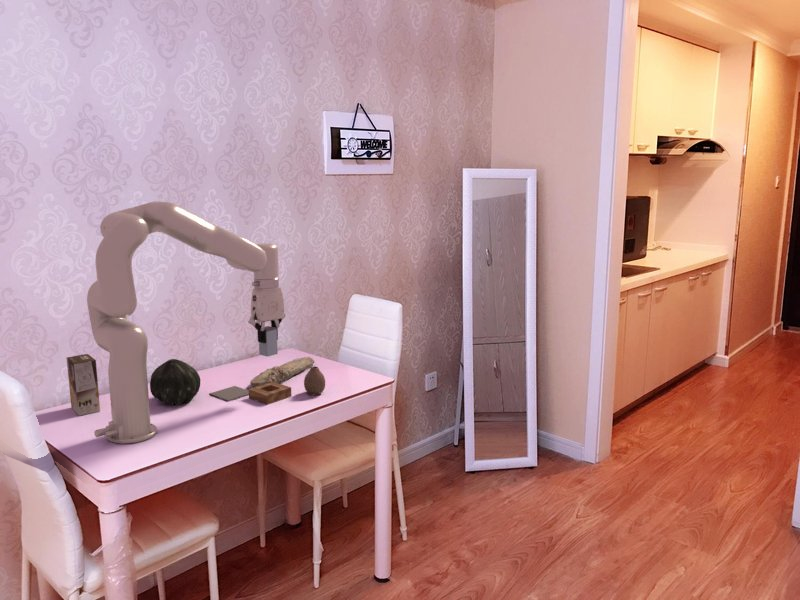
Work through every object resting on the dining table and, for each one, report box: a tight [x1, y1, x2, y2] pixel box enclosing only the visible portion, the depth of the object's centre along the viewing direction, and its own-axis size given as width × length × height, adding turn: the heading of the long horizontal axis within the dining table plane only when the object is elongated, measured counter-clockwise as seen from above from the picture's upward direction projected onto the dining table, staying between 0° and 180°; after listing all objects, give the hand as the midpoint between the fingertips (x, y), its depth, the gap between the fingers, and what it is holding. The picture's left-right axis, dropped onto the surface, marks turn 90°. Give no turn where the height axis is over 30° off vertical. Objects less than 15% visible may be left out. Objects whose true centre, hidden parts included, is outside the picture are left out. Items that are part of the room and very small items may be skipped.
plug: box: [258, 325, 279, 357], centre depth 204 cm, size 4×4×8 cm
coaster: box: [208, 385, 249, 402], centre depth 210 cm, size 10×10×1 cm
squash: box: [149, 358, 201, 406], centre depth 202 cm, size 14×15×15 cm
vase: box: [303, 366, 326, 396], centre depth 211 cm, size 7×7×9 cm
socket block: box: [247, 382, 292, 405], centre depth 207 cm, size 10×9×3 cm
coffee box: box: [66, 353, 101, 417], centre depth 194 cm, size 9×6×16 cm
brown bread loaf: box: [249, 356, 315, 389], centre depth 229 cm, size 35×5×10 cm
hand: (267, 340), depth 204 cm, fingers closed on plug, 4 cm apart
